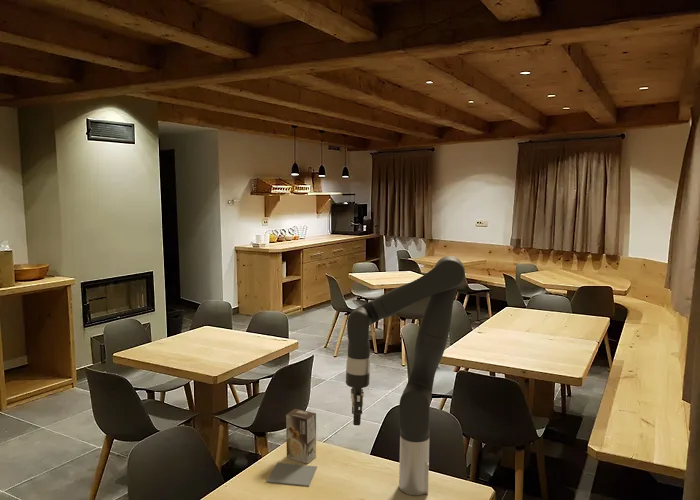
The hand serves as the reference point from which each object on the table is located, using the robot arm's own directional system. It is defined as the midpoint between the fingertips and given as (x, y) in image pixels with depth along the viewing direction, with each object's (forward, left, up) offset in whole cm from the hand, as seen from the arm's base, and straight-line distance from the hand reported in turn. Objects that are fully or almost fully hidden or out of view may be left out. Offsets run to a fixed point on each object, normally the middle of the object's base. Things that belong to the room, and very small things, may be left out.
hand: (355, 419), depth 167 cm
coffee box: (+21, -13, -21) cm, 33 cm away
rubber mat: (+21, -1, -21) cm, 30 cm away
